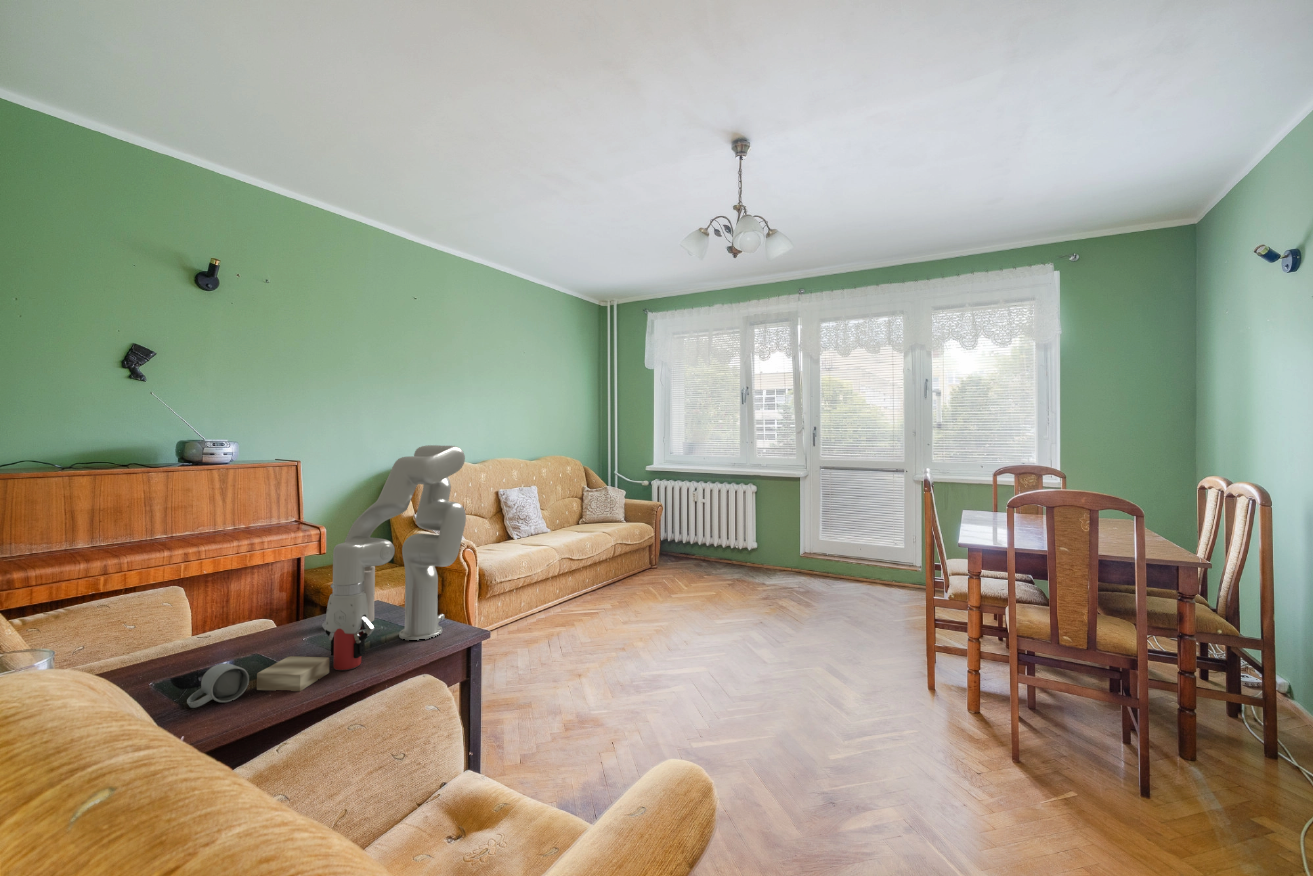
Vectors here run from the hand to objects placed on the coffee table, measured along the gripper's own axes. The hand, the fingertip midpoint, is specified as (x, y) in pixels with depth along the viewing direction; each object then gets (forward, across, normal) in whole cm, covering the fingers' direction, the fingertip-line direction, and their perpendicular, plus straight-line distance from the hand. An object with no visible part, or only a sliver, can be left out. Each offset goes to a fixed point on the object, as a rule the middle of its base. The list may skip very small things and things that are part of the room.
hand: (347, 654), depth 151 cm
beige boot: (+3, -24, +30) cm, 39 cm away
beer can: (+3, 0, 0) cm, 3 cm away
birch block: (+3, -6, -11) cm, 13 cm away
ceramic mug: (+4, -15, -24) cm, 28 cm away
